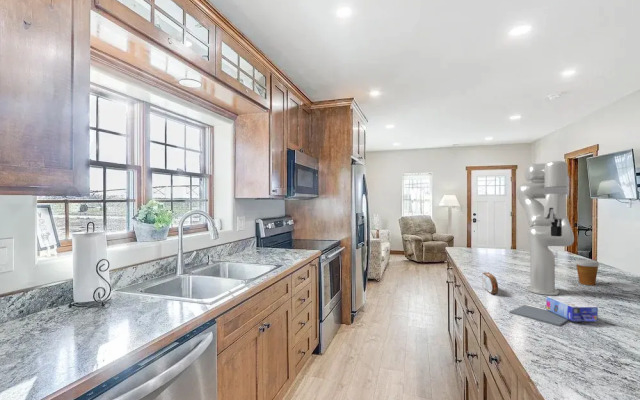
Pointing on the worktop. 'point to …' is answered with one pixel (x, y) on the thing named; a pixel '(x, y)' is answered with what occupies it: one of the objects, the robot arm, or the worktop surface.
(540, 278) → the robot arm
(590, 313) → the ink cartridge box
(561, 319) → the mat
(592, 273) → the disposable coffee cup
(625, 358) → the worktop surface
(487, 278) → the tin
